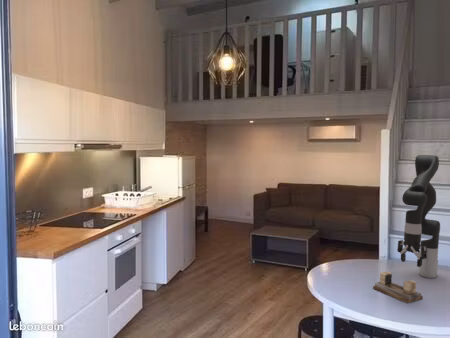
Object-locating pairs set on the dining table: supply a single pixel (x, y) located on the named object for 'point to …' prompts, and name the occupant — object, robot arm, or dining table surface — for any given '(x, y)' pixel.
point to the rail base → (394, 289)
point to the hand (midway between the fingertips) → (410, 264)
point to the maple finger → (409, 287)
